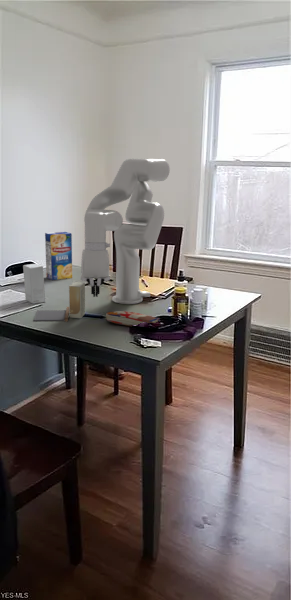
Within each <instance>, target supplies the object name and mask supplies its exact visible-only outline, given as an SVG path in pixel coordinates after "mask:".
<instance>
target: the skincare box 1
mask: <svg viewBox="0 0 291 600" xmlns="http://www.w3.org/2000/svg"><path fill="white" fill-rule="evenodd" d="M22 269H23V272H22V273H23V280H24V281H23V282H24V284H23V285H24V294H25V295H24V296H25V300H26V301H27V302H29V303H31V304H33V305H34V304H40V303H42V304H43V303H46V291H45V290H46V287H45V277H44V266H43V265H40V264H37V263H30V264H24V265H22Z"/></svg>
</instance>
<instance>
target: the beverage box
mask: <svg viewBox="0 0 291 600" xmlns="http://www.w3.org/2000/svg"><path fill="white" fill-rule="evenodd" d="M44 238H45V242H44V243H45V271H46V272H45V276H46V278H47V279H49V280H50V281H56V280H57V281H58V280H64V279H65V280H66V278H67V279H73V244H72V243H73V240H72V239H73V235H72V233H71V232H67V231H57V232H45V233H44Z"/></svg>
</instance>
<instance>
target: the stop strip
mask: <svg viewBox="0 0 291 600" xmlns="http://www.w3.org/2000/svg"><path fill="white" fill-rule="evenodd" d="M65 310H66V313H65V321H64V323H65V322H66V323H67V322H68V321H69V317H70V306H66V307H65Z"/></svg>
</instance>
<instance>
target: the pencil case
mask: <svg viewBox="0 0 291 600" xmlns="http://www.w3.org/2000/svg"><path fill="white" fill-rule="evenodd" d="M105 318H106V319H105V320H106V321H108V322H111V323H114V324H116V325H120V326H126V327H132V325H138V324H140V323H143V322H147V323H156V322H158V321H159V322H160V321H161V320H160V319H161V318H160V317H155V316H152V315H147V314H145V313H144V314H143V313H139V312H135V311H125V310H124V311H123V310H122V311H121V310H114V311H108V312H106V314H105ZM130 325H131V326H130Z"/></svg>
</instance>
